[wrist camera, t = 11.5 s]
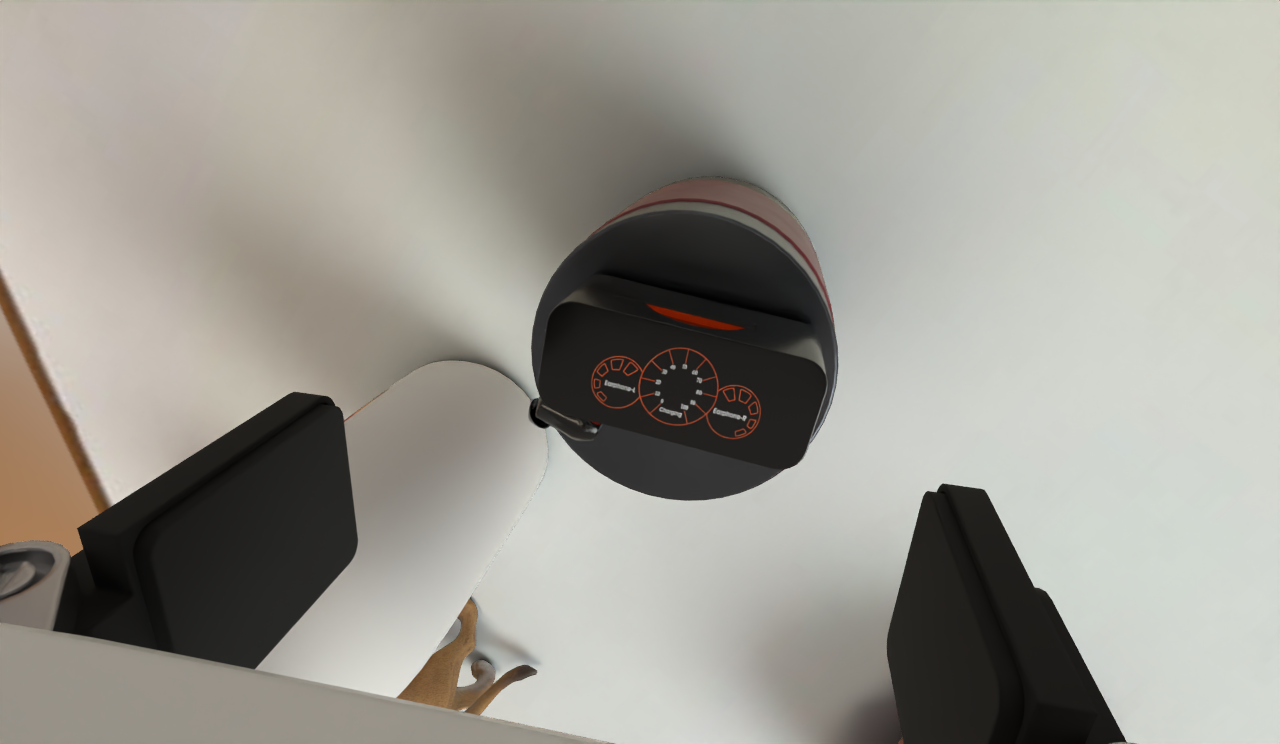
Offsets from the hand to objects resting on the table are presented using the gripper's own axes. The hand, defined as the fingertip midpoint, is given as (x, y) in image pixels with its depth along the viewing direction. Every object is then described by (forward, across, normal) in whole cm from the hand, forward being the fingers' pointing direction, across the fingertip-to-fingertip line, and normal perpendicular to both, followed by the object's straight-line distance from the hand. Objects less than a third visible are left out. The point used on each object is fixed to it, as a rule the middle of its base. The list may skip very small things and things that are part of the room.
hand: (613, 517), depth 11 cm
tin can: (+17, 0, +1) cm, 17 cm away
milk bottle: (+17, +10, +9) cm, 22 cm away
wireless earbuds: (+9, 0, +1) cm, 9 cm away
